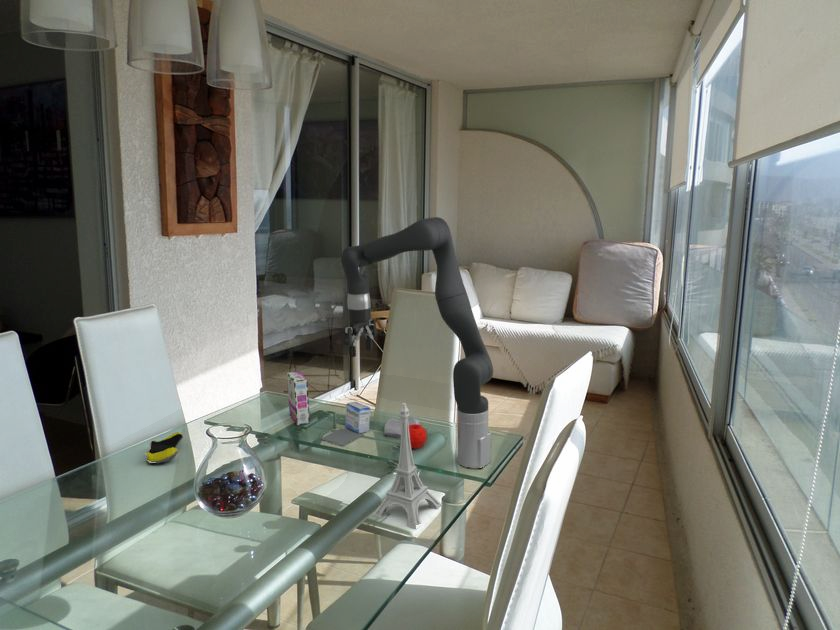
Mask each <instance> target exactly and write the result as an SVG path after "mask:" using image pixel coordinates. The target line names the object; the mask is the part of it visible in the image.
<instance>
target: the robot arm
mask: <svg viewBox="0 0 840 630" xmlns="http://www.w3.org/2000/svg"><path fill="white" fill-rule="evenodd" d="M452 237H453V236H452V232H451V229H450V226H449V224H448V223H447V222H446V221H445V219H443V218H442V217H438V216H435V217H433V216H432V217H427V218H421V219H418V220H417V221H415V222H413V223H411V224H409V225H408V226H407V227H405V228H403V229H401V230H400V231H397V232H395V233H392V234H387V235H384V236H381V237H379V238H377V237H376V238H375V239H371V240H370V241H368V242H366V243H364V244H359V245H353V246H348V247H345V248H344V249H343V250H342V253H341V255H340V262H341V266H342V269H343V272H344V275H345V278H346V282H347V283H346V285H347V318H348V321H349V322H350V326H348V327H347V326H344V327H343V345H345V346H348V355H349V357H351V358H355V357H356V356H357V350H356V349H357V346H356V345H357V341H359V339H360V338H361V337H363V336H364V337H365V350H366V351H372V350H373V348H374V345H373V340H374V338H375V337H377V335H378V334H377V322H376V319H372V310H371V309H372V308H371V307H372V305H371V297H370V279H369V277H368V275H367V274H364V273H361V272H360V269H359V268H364V267H366V266H370V265H373V264H375V263H379V262H383V261H385V260H388V259H389V260H390V259H392V258H395V257H396V256H398V255H400V254H403V253H407V252H416V251H423V252H424V251H425V252H426V251H427V252H428V251H432V254H433V257H434V260H435V265H436V279H435V288H434V297H435V301H436V304H437V307H438V311H439V313H440V316H441V318H442V320H443V321H444V324H446V326H447V327H448V328H449V329H450V330H451V331H452V332H453V333H454V334H455V336H456V337H457V338H458V341H459V342H460V344H461V346H462V350H463V353H464V358H461V359H459V360H458V361H456V362H455V365H454V367H453V370H452V379H453V380H452V381H453V396H454V400H455V403H456V407H457V408H456V411H457V413H456V414H457V415H456V416H457V417H456V418H457V419H456V421H457V429H456V430H457V463H458V464H459V465H460V464H461V465H462V466H461V465H460V466H461V467H463V466H466V467H471V468H470V469H478V468H482V467H483V468H484V466H485V465H486V466H487V465H489V464H490V463H491V462H492V432H491V431H489V400H488V398H487V397H486V396H484V395H482V394H481V393H482V391H481V386H482V385H484V384H487V383H488V382H489V381H491V379H492V378H493V376H494V367H493V362H492V359H491V357H490V355H489V352H488V350H487V348H486V346H485V343H484V341H483V339H482V336H481V334H480V331H479V327H478V325H477V322H476V319H475V315H474V313H473V310H472V306H471V302H470V298H469V296H468V295H469V294H468V293H467V290H466V287H465V284H464V281H463V278H462V273H461V271H460V267H459V265H458V260H457V256H456V252H455V247H454V242H453V238H452ZM488 463H489V464H488ZM486 466H485V467H486ZM466 467H465V468H466ZM483 468H482V469H483Z"/></svg>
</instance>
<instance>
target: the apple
mask: <svg viewBox="0 0 840 630" xmlns="http://www.w3.org/2000/svg"><path fill="white" fill-rule="evenodd" d="M409 435H410V443H411V449H412V448H413V449H412V450H418V449H420V448H422V446H424V445H425V443H426V441H427V437H428V436H427V435H428V434H427V431H426V429H425V428H424V427H423V426H422V425H418V424H414V425H409ZM417 448H418V449H417Z"/></svg>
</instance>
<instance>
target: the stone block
mask: <svg viewBox="0 0 840 630" xmlns="http://www.w3.org/2000/svg"><path fill="white" fill-rule="evenodd" d="M408 423H409V425H414V424H418V425H420V424H421V422H420V420H419V419H418V418H415V417H409V418H408ZM383 435H384V436H385V435H387V436H386V437H391V436H395V437H394V438H397V437H399V438H398V439H401V419H395V418H393V417H392V418H391V417H390V418H388V419H387V420H386V422H385V425H384V428H383Z"/></svg>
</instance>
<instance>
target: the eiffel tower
mask: <svg viewBox="0 0 840 630" xmlns="http://www.w3.org/2000/svg"><path fill="white" fill-rule="evenodd" d="M410 416H411V414H410V409H409V408H408V406H407V403H406V402H402V404H401V408H400V409H399V416H398V417H399V418H400V420H401V438H400V442H399V443H400V445H399V446H400V447H399V457H398V465H397V468H395V472H396V474H395V478H394V480H393V483H392V484H391V488H389V490H387V491H386V492H385V493H386V494H385V495H386V497H385V498H384V499H383V500H382V502H381V503H380V504H379V506H378V508H376V510H375V511H374V512H373V514H372V515H371V516H372V517H375V518H377V519H382V518H384V517H385V516H386V515H387V512H386V511H387V510H388V508H389V506H391V505H394V504H395V505H399V506H401V507H402V508H403V509H404V510H405V511H406V515H407V518H408V519H407V520H408V522H407V523H408V525H407V526H406V527H407V528H410V529H413V530H417V529H416V525H419V524H421V520H420V517H419V506H420V504H421V502H422V501H423V500H424V501H426V502H427V503H428V506H427V507H428V508H431V509H434V510H439V509H440V508H441V507H443V504H442V503H441V502H440V501H439V500H438V499H437V498H436V497H435V496H434V495H433V494H432V493H431V492H430V491H429V490H428V486H427V485H424V483H423V482H422V480H421V478H420V476H419V474H418V472H417V468H418V465H417V466H416V465H415V461H414V456H413V449H412V448H411V443H410V435H409V423H408V418H410Z"/></svg>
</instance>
